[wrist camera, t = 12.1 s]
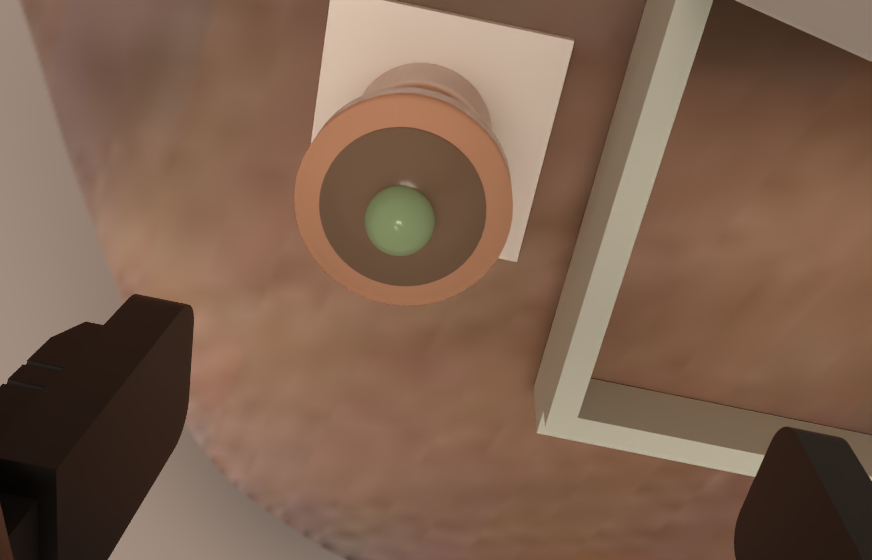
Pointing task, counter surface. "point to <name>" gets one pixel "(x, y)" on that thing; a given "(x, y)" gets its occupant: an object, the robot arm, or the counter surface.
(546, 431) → the cold frame
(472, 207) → the clay pot
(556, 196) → the counter surface
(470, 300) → the counter surface
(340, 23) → the tile
